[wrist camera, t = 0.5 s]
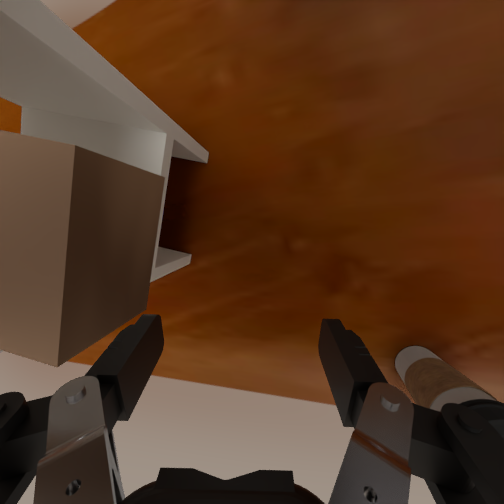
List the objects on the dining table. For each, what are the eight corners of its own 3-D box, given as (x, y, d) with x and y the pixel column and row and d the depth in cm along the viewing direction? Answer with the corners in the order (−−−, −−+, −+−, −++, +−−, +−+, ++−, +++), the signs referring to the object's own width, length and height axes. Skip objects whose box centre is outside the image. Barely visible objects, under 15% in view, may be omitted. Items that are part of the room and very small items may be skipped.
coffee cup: (388, 389, 37) (456, 499, 23) (384, 339, 36) (452, 421, 22) (446, 386, 36) (558, 501, 21) (443, 335, 35) (558, 419, 20)
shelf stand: (106, 133, 38) (-628, -228, 7) (212, 153, 36) (-183, -214, 6) (96, 240, 41) (-463, 302, 10) (192, 264, 39) (-135, 425, 8)
